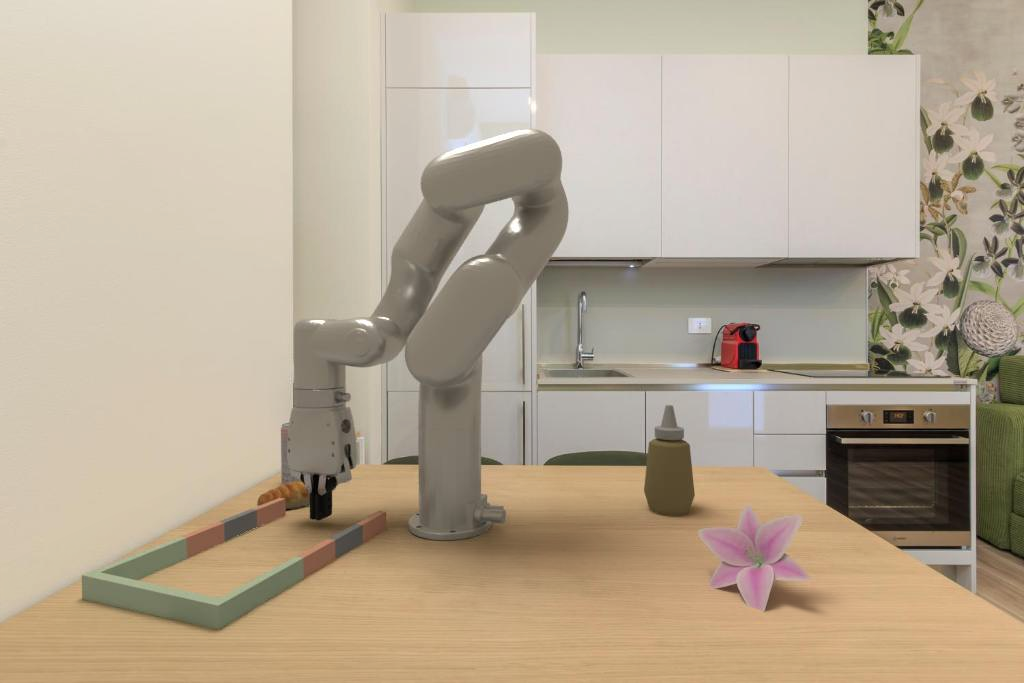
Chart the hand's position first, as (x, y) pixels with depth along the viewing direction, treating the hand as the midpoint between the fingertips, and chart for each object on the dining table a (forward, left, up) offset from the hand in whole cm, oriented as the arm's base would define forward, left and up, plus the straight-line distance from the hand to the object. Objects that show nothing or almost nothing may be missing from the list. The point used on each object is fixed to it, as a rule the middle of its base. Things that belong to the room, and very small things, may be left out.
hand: (321, 517), depth 85 cm
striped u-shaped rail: (0, +13, -2) cm, 13 cm away
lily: (-62, -1, -2) cm, 62 cm away
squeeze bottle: (-50, -24, -2) cm, 56 cm away
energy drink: (+21, -18, -2) cm, 28 cm away
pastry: (+15, -6, -3) cm, 17 cm away
